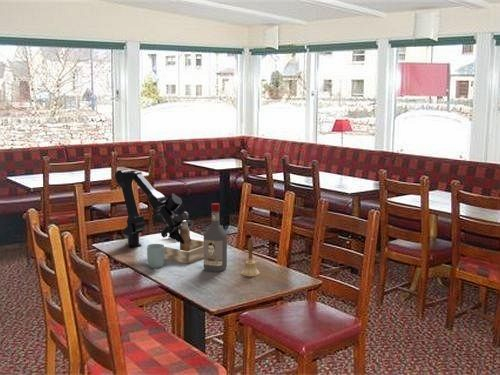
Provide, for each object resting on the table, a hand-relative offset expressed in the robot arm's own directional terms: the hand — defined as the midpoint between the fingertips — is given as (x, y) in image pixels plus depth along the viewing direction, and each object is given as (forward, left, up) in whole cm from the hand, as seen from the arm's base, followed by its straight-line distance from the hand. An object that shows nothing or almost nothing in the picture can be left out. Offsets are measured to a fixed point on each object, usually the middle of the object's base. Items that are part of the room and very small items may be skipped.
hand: (187, 242), depth 296 cm
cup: (+9, -19, -7) cm, 23 cm away
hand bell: (+36, +15, -7) cm, 40 cm away
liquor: (+23, +4, -7) cm, 25 cm away
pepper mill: (-1, -1, -6) cm, 7 cm away
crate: (+1, 0, -7) cm, 7 cm away
